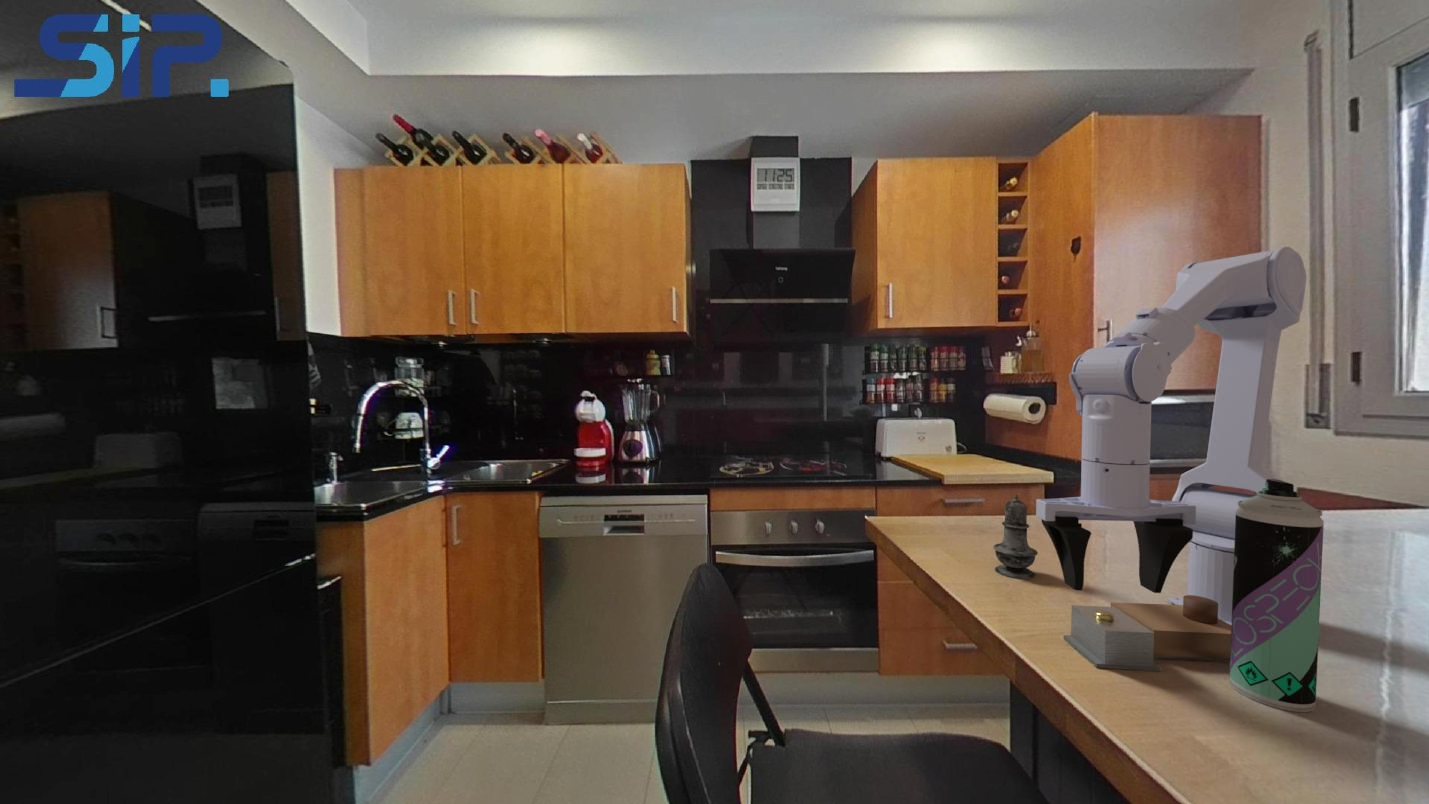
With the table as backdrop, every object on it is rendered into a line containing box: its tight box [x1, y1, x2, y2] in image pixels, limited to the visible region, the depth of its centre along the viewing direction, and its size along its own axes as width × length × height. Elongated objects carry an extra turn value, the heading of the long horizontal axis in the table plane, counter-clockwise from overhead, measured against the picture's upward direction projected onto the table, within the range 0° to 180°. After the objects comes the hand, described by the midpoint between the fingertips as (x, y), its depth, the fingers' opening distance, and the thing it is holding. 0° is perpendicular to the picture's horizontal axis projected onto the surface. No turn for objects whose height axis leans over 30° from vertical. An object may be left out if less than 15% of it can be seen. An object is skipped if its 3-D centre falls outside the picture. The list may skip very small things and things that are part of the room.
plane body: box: [1110, 594, 1231, 663], centre depth 58 cm, size 9×7×5 cm
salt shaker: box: [992, 493, 1039, 580], centre depth 79 cm, size 6×6×12 cm
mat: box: [1063, 634, 1162, 672], centre depth 56 cm, size 6×6×1 cm
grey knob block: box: [1070, 604, 1154, 667], centre depth 55 cm, size 4×6×4 cm
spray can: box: [1229, 479, 1324, 713], centre depth 48 cm, size 6×6×20 cm
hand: (1111, 588), depth 55 cm, fingers open, 7 cm apart
